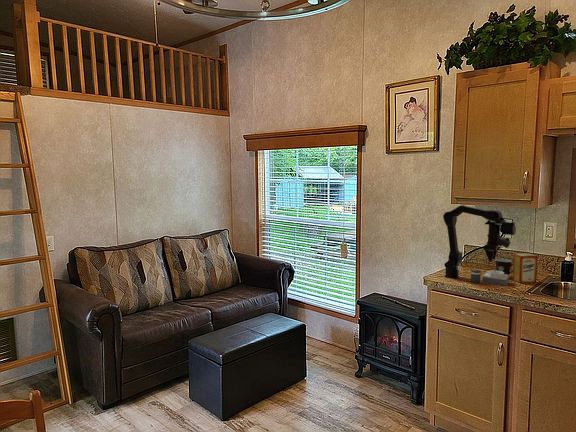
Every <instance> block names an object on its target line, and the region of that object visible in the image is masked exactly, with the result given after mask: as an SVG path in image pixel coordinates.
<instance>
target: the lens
mask: <svg viewBox="0 0 576 432" xmlns="http://www.w3.org/2000/svg"><path fill="white" fill-rule="evenodd" d="M481 272H482V270H480V269H471V270H470V283H471V284H475V285H476V284H477V285H479V284H481V281H482V280H481V278H482V275H481V274H482V273H481Z"/></svg>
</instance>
